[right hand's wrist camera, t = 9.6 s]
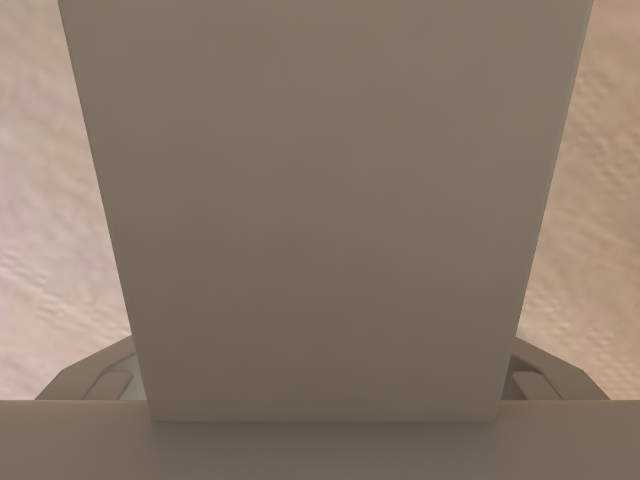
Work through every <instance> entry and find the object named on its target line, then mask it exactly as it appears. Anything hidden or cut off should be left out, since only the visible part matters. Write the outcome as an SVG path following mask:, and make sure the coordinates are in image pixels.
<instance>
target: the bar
mask: <svg viewBox="0 0 640 480" xmlns="http://www.w3.org/2000/svg"><path fill="white" fill-rule="evenodd" d="M592 4H593V0H58V5H59V9H60V14H61V18H62V23H63V27H64V32H65V36H66V40H67V45H68V49H69V54H70V58H71V63H72V67H73V72H74V76H75V81H76V85H77V90H78V94H79V99H80V103H81V108H82V112H83V117H84V121H85V126H86V130H87V135H88V139H89V144H90V148H91V153H92V157H93V162H94V166H95V171H96V175H97V180H98V184H99V188H100V193H101V197H102V202H103V206H104V211H105V215H106V220H107V224H108V229H109V233H110V238H111V242H112V247H113V251H114V256H115V260H116V265H117V269H118V274H119V278H120V283H121V287H122V292H123V296H124V301H125V305H126V310H127V314H128V319H129V323H130V328H131V332H132V336H133V341H134V345H135V350H136V354H137V359H138V363H139V368H140V372H141V377H142V381H143V386H144V390H145V395H146V399H147V404H148V408H149V413H150V417H151V420H152V421H155V422H493V421H496V417H497V412H498V408H499V404H500V399H501V395H502V391H503V387H504V382H505V378H506V374H507V369H508V365H509V361H510V357H511V352H512V348H513V344H514V339H515V335H516V331H517V326H518V322H519V318H520V314H521V309H522V305H523V301H524V296H525V292H526V288H527V283H528V279H529V275H530V271H531V266H532V262H533V258H534V253H535V249H536V245H537V241H538V236H539V232H540V228H541V223H542V219H543V215H544V210H545V206H546V202H547V198H548V193H549V189H550V185H551V180H552V176H553V172H554V168H555V163H556V159H557V155H558V150H559V146H560V142H561V137H562V133H563V129H564V125H565V120H566V116H567V112H568V107H569V103H570V99H571V94H572V90H573V86H574V82H575V77H576V73H577V69H578V64H579V60H580V56H581V52H582V47H583V43H584V39H585V34H586V30H587V26H588V21H589V17H590V13H591V9H592Z"/></svg>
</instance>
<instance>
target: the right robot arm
mask: <svg viewBox="0 0 640 480" xmlns="http://www.w3.org/2000/svg"><path fill="white" fill-rule="evenodd" d="M0 480H640V400H610V399H609V397H608V396H607V395H606V394H605V393H604V392H603V391H602V390H601V389H600V388H599V387H598V386H597V385H596V384H595V383H594V381H593V380H592V379H591V378H590V377H589V376H588V375H587V374H586V373H585V372H584V371H583V370H581V369H579V368H577V367H575V366H573V365H571V364H569V363H567V362H565V361H563V360H561V359H559V358H557V357H555V356H553V355H551V354H549V353H547V352H545V351H543V350H541V349H539V348H537V347H535V346H533V345H531V344H529V343H527V342H525V341H523V340H521V339H519V338H517V337H515V339H514V344H513V348H512V352H511V357H510V361H509V365H508V369H507V374H506V378H505V382H504V387H503V391H502V395H501V399H500V404H499V408H498V412H497V417H496V421H493V422H155V421H152V420H151V417H150V413H149V408H148V404H147V399H146V395H145V390H144V386H143V381H142V377H141V372H140V368H139V363H138V359H137V354H136V350H135V345H134V341H133V336H132V335H131V336H129V337H127V338H125V339H123V340H121V341H119V342H117V343H115V344H113V345H111V346H109V347H107V348H105V349H103V350H101V351H99V352H97V353H95V354H93V355H91V356H89V357H87V358H85V359H83V360H81V361H79V362H77V363H75V364H73V365H71V366H69V367H67V368H65V369H63V370H62V371H61V372H60V373H59V374H58V375H57V376H56V377H55V378H54V379H53V380H52V381H51V382H50V383H49V385H48V386H47V387H46V388H45V389H44V390H43V391H42V392H41V393H40V394H39V395H38V396H37V397H36V399H35V400H0Z"/></svg>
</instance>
